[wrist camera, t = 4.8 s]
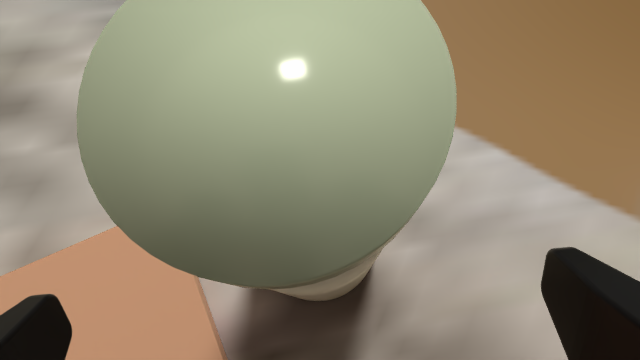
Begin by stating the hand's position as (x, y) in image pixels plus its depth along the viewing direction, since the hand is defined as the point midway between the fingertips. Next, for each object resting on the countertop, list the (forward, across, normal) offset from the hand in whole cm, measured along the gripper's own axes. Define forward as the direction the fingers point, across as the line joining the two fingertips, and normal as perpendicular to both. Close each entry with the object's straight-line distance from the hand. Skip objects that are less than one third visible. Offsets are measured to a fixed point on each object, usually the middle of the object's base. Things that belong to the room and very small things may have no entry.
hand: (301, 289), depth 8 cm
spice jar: (+8, 0, +5) cm, 10 cm away
